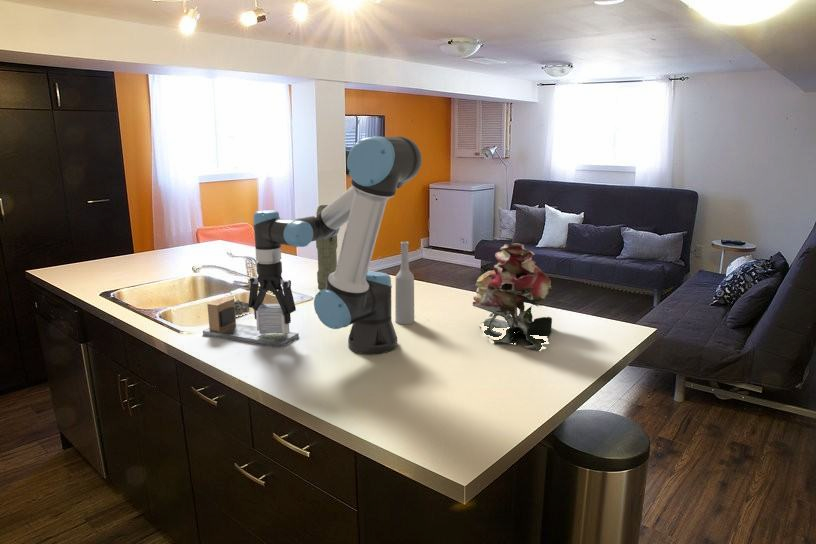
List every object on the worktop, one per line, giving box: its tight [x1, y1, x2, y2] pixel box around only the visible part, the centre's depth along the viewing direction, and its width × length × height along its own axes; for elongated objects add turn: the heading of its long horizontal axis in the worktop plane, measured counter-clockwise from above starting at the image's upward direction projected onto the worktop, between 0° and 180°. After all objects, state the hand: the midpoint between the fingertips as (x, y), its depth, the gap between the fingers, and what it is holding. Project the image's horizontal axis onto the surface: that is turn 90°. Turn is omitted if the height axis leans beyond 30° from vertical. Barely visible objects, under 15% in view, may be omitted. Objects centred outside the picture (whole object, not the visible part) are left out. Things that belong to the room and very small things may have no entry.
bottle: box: [394, 241, 415, 325], centre depth 192 cm, size 7×7×28 cm
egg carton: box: [234, 299, 250, 318], centre depth 205 cm, size 11×8×4 cm
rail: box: [202, 297, 300, 349], centre depth 180 cm, size 30×10×10 cm, turn 67°
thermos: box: [315, 204, 338, 291], centre depth 235 cm, size 9×12×35 cm
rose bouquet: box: [472, 242, 554, 351], centre depth 180 cm, size 26×29×30 cm
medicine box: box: [258, 303, 283, 334], centre depth 176 cm, size 8×4×9 cm, turn 92°
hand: (273, 331), depth 177 cm, fingers closed on medicine box, 9 cm apart
